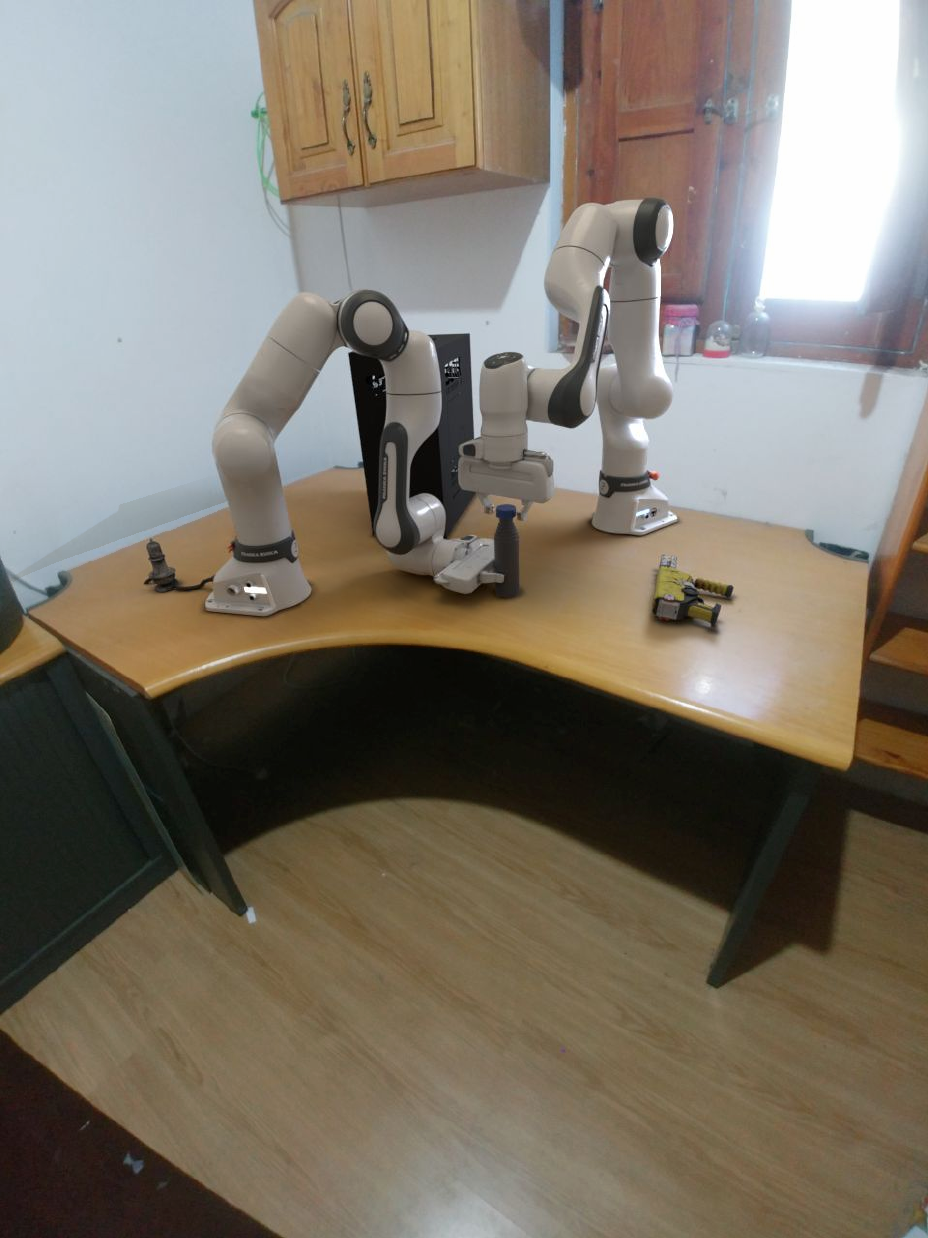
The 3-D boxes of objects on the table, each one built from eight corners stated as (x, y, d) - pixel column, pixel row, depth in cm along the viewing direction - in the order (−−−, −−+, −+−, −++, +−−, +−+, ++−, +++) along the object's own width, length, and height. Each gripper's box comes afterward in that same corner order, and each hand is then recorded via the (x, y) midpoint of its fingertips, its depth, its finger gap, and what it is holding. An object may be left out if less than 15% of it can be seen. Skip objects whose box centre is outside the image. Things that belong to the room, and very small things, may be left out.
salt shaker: (170, 592, 137) (153, 544, 131) (147, 591, 138) (130, 543, 132) (185, 581, 142) (170, 533, 136) (163, 580, 143) (147, 532, 137)
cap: (512, 520, 118) (511, 511, 117) (492, 518, 120) (492, 509, 119) (519, 513, 121) (519, 505, 120) (500, 511, 123) (500, 503, 122)
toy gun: (733, 563, 128) (661, 551, 132) (740, 613, 108) (654, 597, 112) (728, 583, 130) (657, 571, 134) (732, 635, 110) (649, 619, 114)
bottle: (524, 591, 129) (524, 509, 120) (508, 600, 126) (507, 516, 117) (506, 584, 132) (504, 504, 123) (490, 593, 129) (487, 511, 120)
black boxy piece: (446, 538, 156) (432, 350, 134) (372, 535, 161) (348, 352, 138) (476, 491, 188) (469, 333, 165) (414, 490, 192) (399, 335, 170)
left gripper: (427, 566, 123) (488, 578, 117) (474, 531, 138) (530, 540, 132) (430, 594, 126) (489, 606, 120) (475, 556, 142) (529, 566, 135)
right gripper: (561, 449, 111) (559, 520, 118) (470, 438, 121) (473, 504, 128) (544, 457, 106) (543, 531, 113) (451, 445, 117) (455, 513, 124)
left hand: (511, 571), depth 126 cm, fingers closed on bottle, 5 cm apart
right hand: (505, 516), depth 121 cm, fingers open, 6 cm apart
